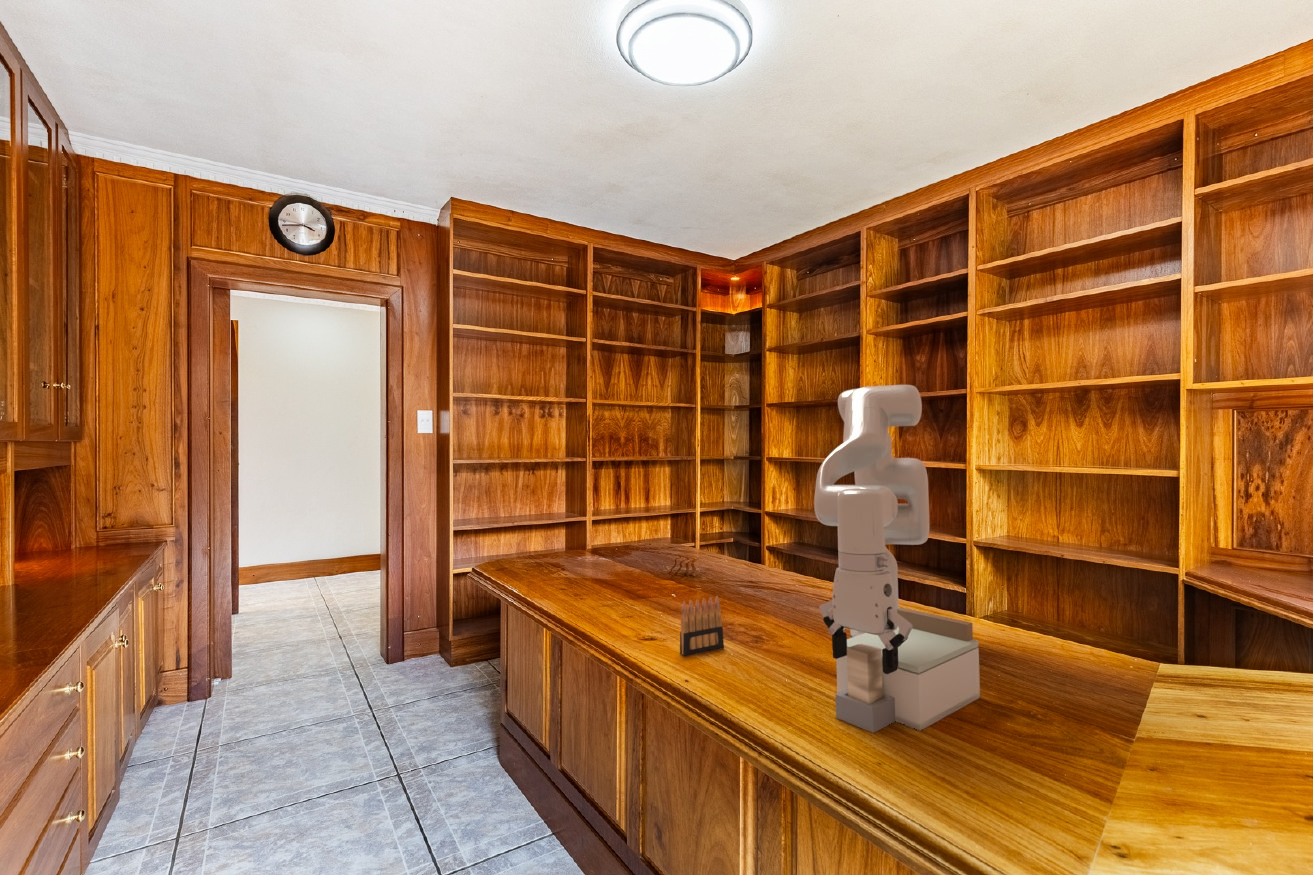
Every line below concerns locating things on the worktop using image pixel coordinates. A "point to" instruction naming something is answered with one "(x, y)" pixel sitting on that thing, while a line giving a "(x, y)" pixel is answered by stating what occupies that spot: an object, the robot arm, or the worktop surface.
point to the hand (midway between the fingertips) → (864, 664)
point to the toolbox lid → (926, 640)
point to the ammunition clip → (701, 628)
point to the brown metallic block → (864, 673)
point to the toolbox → (912, 694)
